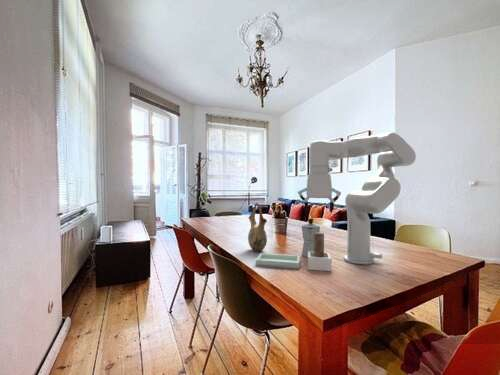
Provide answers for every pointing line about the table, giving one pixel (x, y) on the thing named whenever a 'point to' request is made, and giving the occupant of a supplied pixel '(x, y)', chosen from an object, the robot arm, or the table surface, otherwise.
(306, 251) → the coffee maker
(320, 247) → the dowel
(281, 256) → the tray
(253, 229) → the ceramic vessel
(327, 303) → the table surface
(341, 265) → the table surface
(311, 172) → the robot arm
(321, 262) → the white square ring
